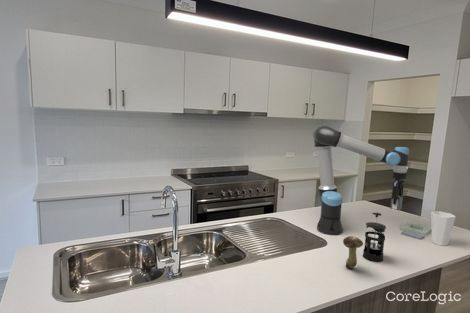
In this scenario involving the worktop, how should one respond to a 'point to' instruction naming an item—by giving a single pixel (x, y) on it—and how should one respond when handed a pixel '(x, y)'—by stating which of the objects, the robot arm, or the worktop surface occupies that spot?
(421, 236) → the phone
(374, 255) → the french press
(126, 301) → the worktop surface
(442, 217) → the cup
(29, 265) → the worktop surface
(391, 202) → the block
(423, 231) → the outlet plate
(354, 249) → the mushroom
